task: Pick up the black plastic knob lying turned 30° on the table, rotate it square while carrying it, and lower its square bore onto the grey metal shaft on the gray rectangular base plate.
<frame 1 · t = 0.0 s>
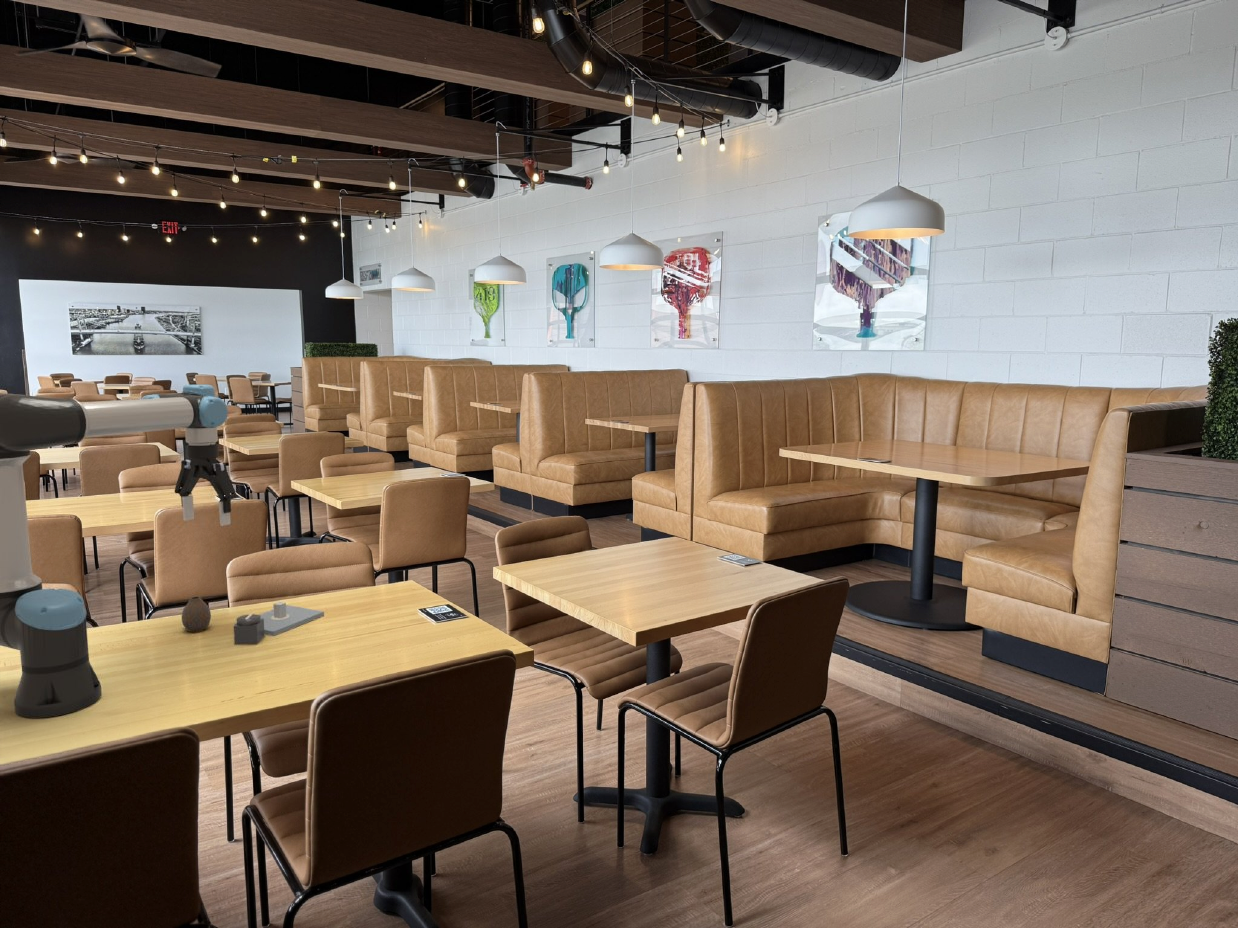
hand: (206, 522, 218), 28 cm above the table, fingers open, 13 cm apart
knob: (249, 640, 210), on the table
vase: (197, 630, 217), on the table
gray rectangular base plate: (280, 621, 224), on the table
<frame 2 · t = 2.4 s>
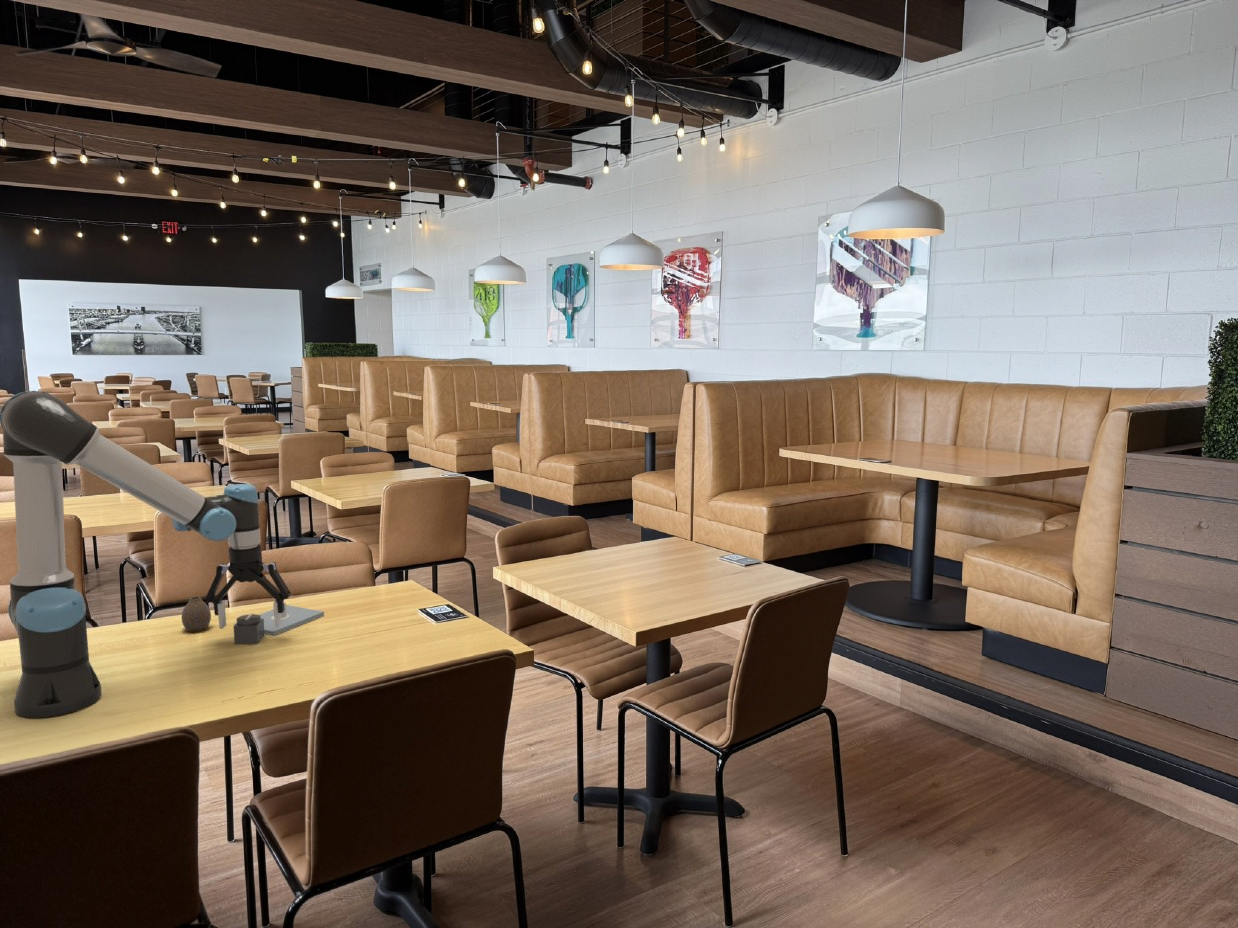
hand: (250, 626, 209), 4 cm above the table, fingers open, 13 cm apart
nothing on the table moved.
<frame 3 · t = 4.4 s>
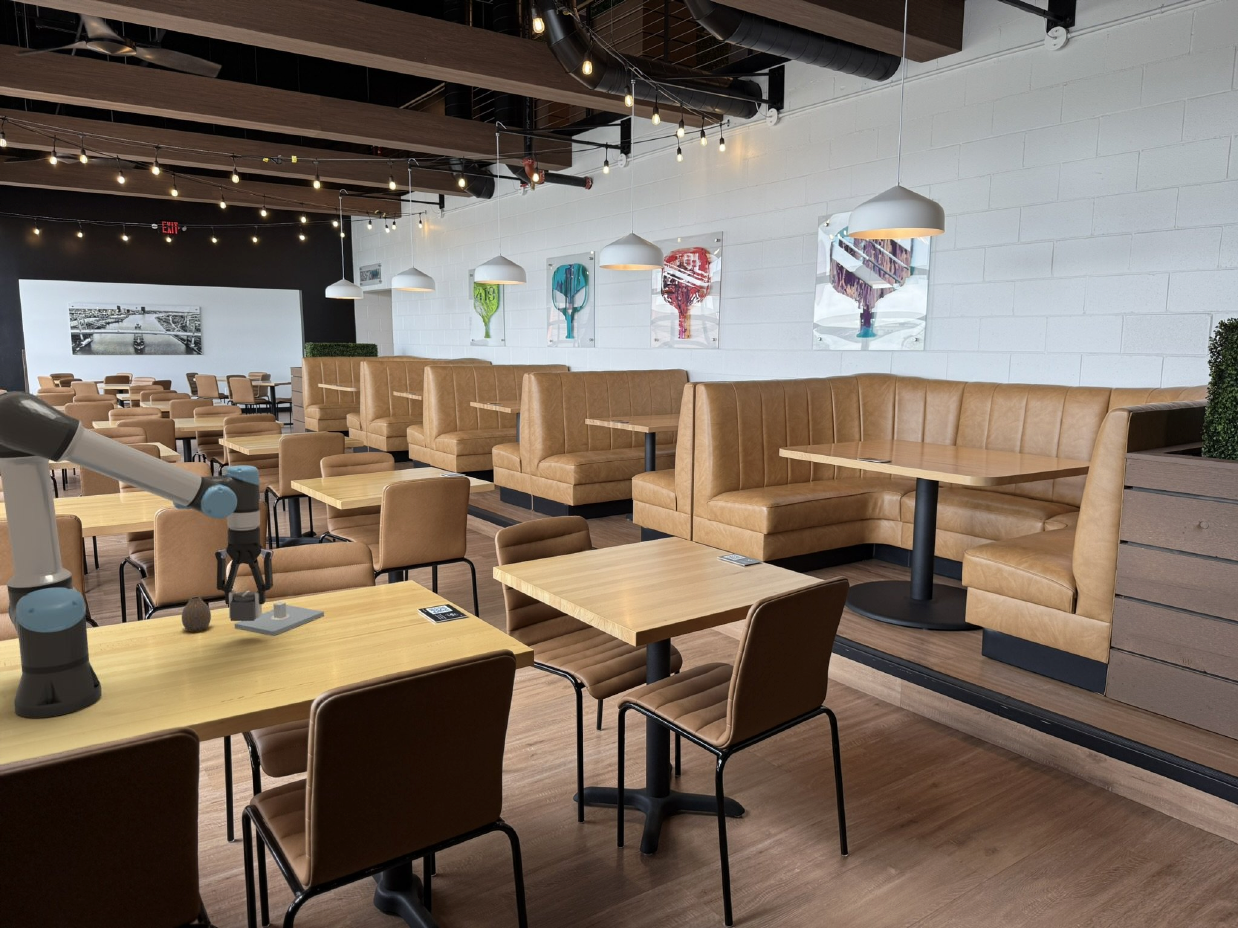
hand: (245, 616, 208), 7 cm above the table, fingers closed on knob, 6 cm apart
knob: (245, 617, 208), point 6 cm above the table, touching gripper
everything else where it was.
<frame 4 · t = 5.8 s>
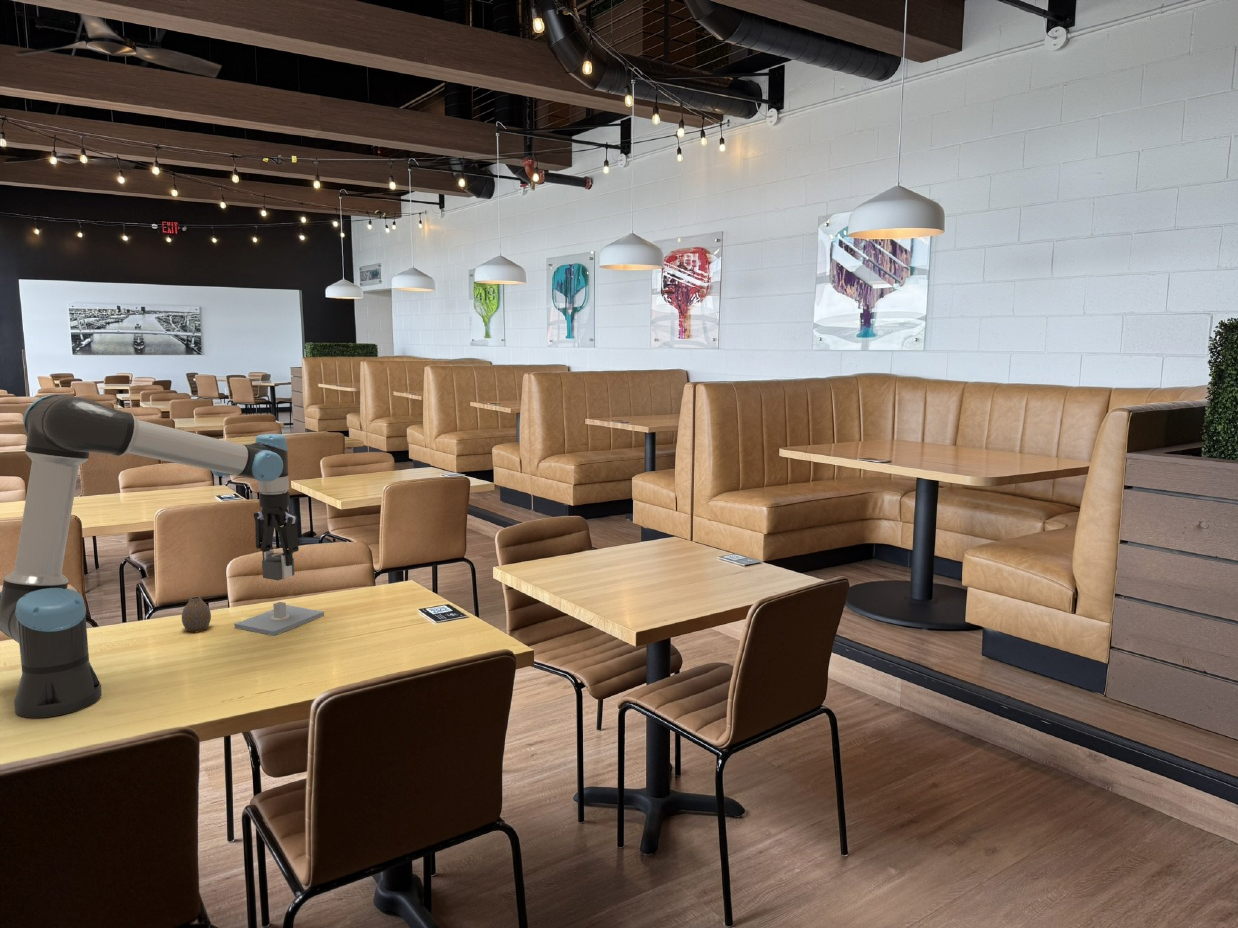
hand: (278, 575, 222), 13 cm above the table, fingers closed on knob, 6 cm apart
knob: (278, 576, 222), point 13 cm above the table, touching gripper
everything else where it was.
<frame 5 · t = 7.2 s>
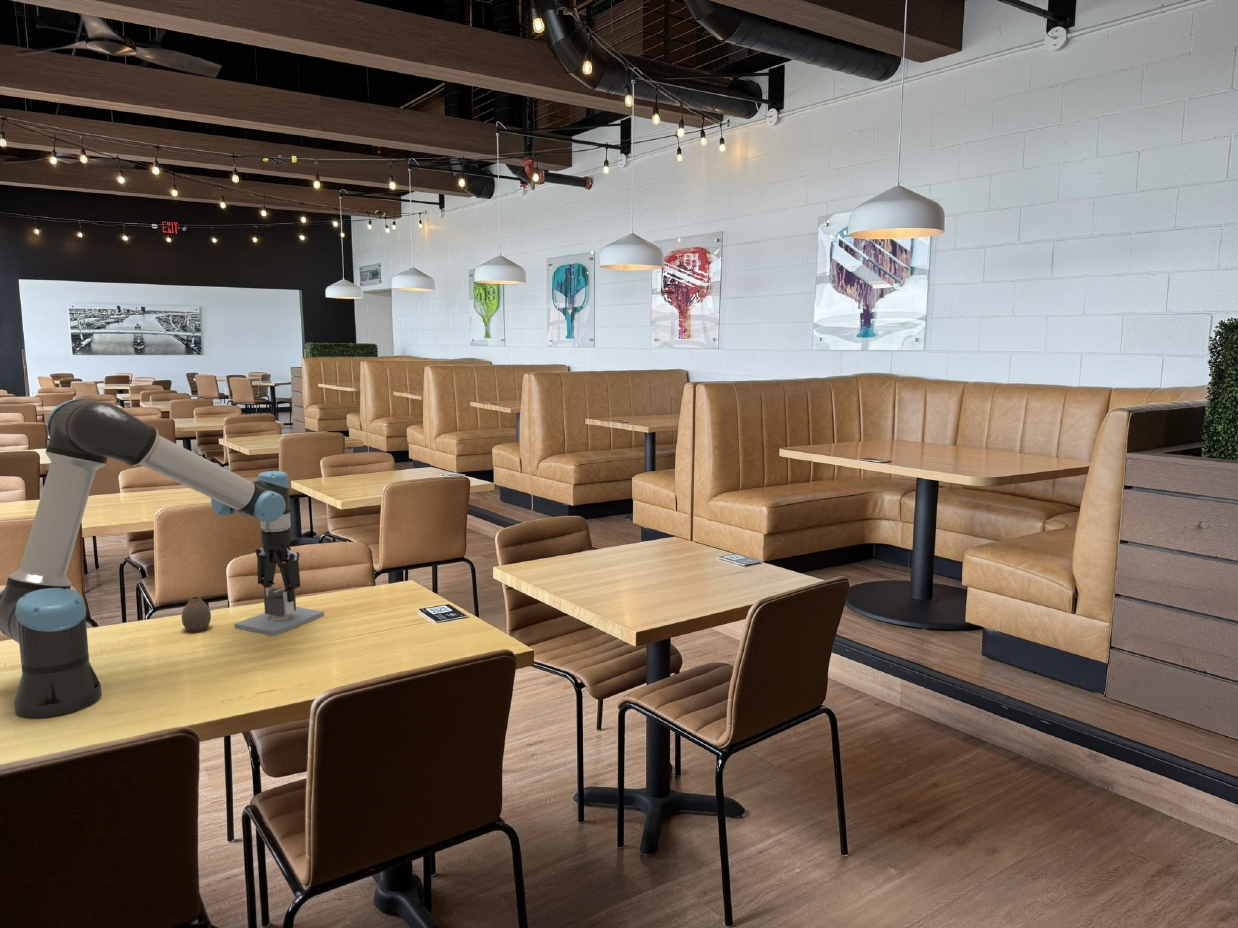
hand: (280, 611, 224), 3 cm above the table, fingers closed on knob, 6 cm apart
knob: (280, 611, 224), point 3 cm above the table, touching gripper
everything else where it was.
when the fingers open (2 cm above the table, at t = 7.6 s): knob stays where it is, resting on gray rectangular base plate.
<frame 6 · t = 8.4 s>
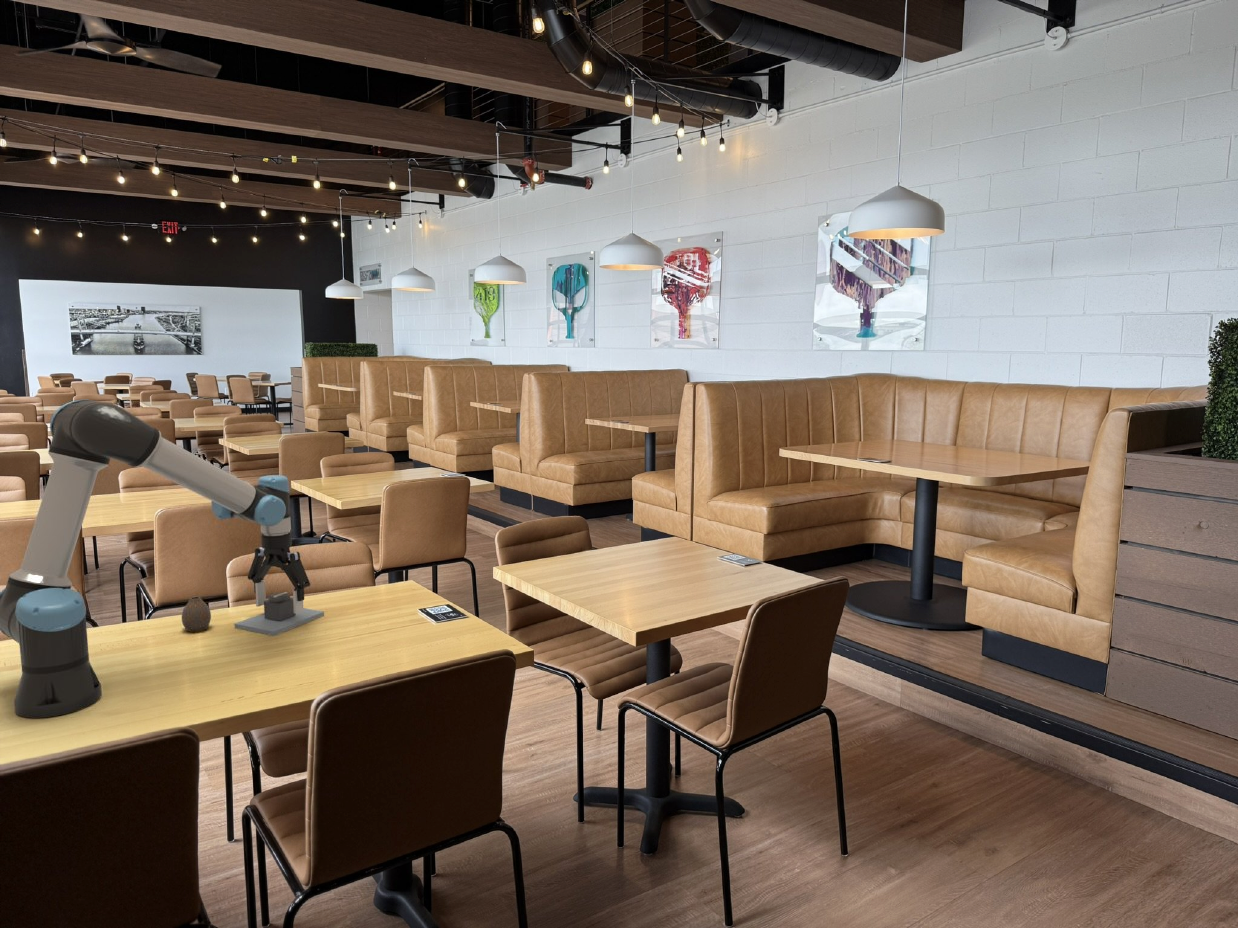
hand: (279, 608, 223), 4 cm above the table, fingers open, 13 cm apart
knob: (280, 616, 224), point 1 cm above the table, touching gray rectangular base plate
everything else where it was.
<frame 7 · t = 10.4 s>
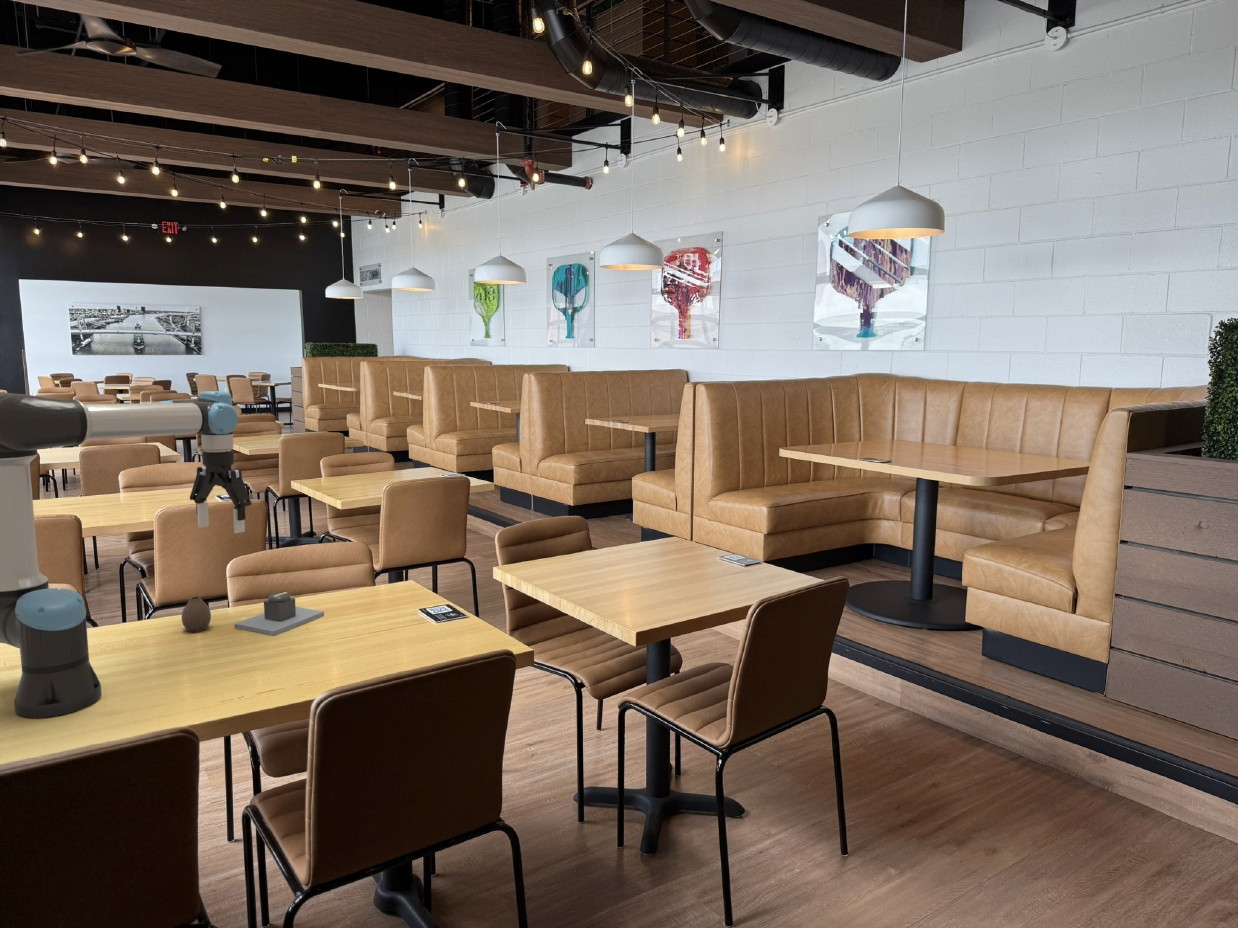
hand: (221, 529, 217), 26 cm above the table, fingers open, 13 cm apart
nothing on the table moved.
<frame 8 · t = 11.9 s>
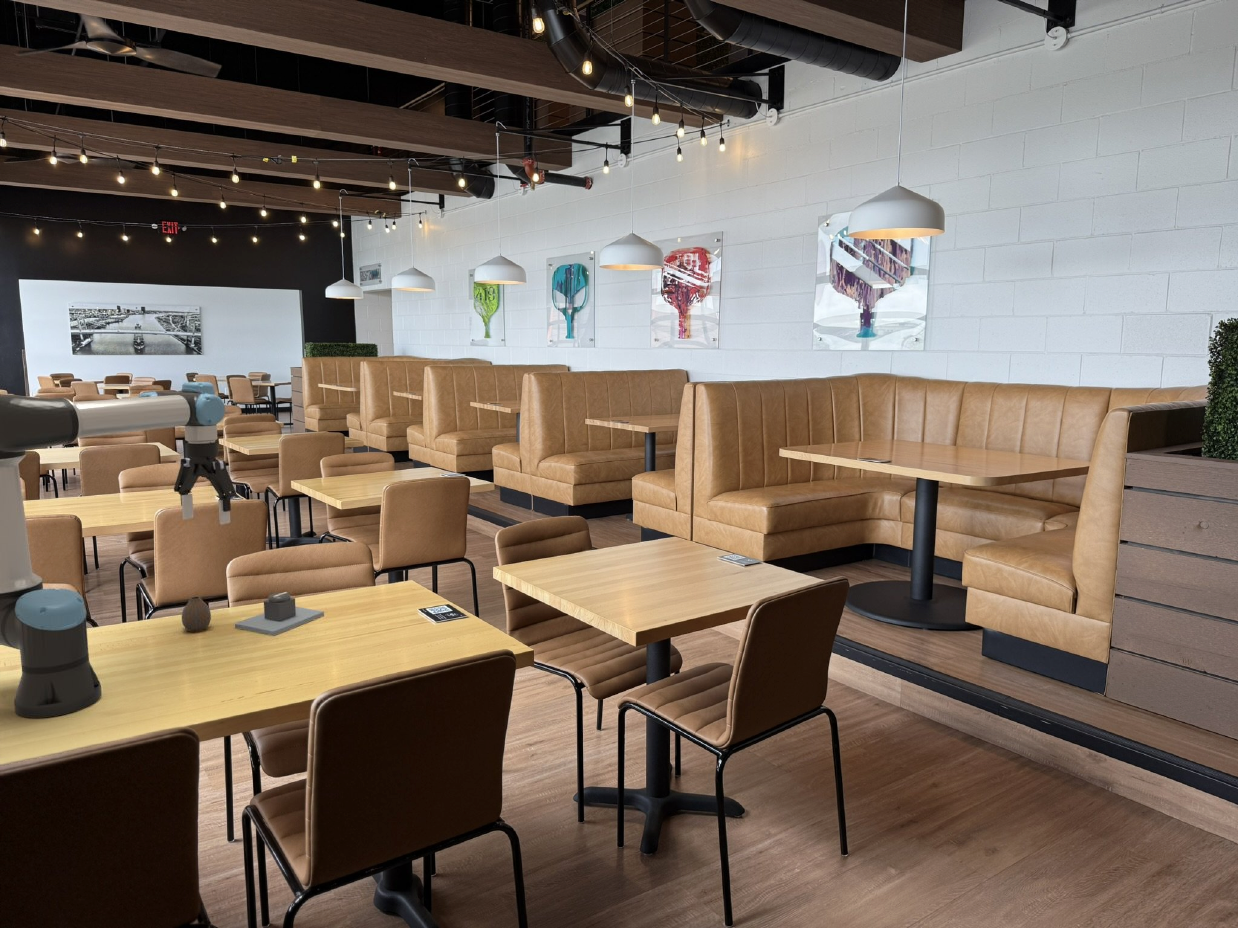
hand: (206, 521, 216), 29 cm above the table, fingers open, 13 cm apart
nothing on the table moved.
at the end: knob 0.0 cm off-centre on the gray rectangular base plate, point 1.4 cm above the gray rectangular base plate's base; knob tilted 0°; the gripper is holding nothing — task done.
